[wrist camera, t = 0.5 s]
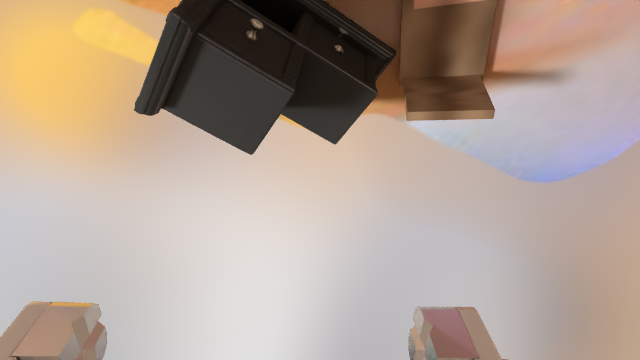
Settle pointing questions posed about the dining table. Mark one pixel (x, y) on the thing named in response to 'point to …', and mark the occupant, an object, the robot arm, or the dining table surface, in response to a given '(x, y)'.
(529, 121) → the dining table surface
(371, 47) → the black drawer cabinet
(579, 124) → the dining table surface
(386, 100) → the dining table surface
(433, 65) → the shelf
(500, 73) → the dining table surface
